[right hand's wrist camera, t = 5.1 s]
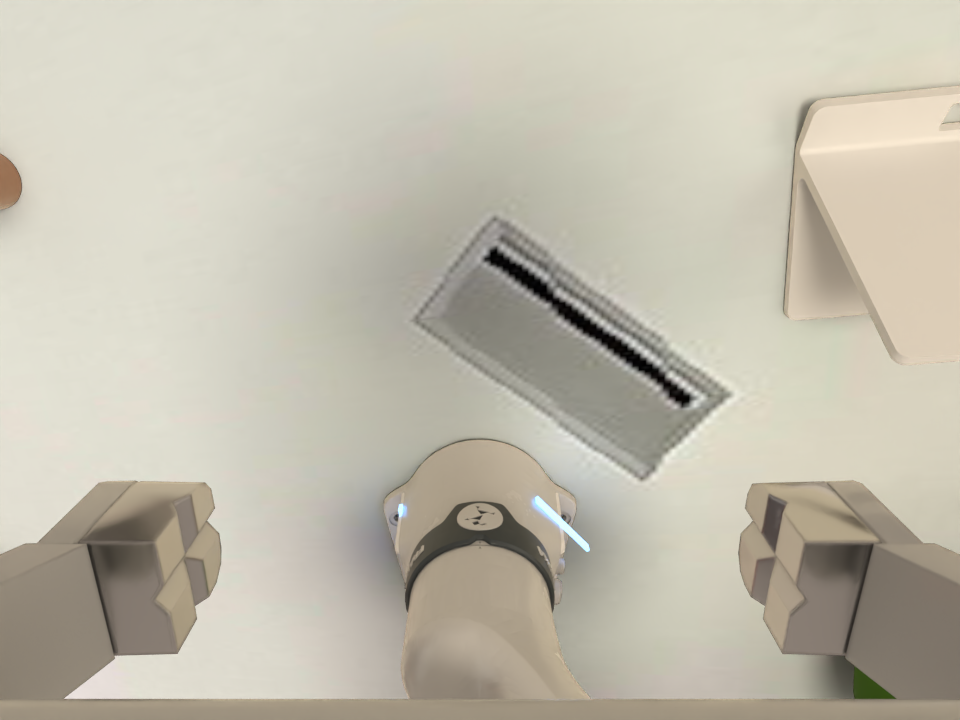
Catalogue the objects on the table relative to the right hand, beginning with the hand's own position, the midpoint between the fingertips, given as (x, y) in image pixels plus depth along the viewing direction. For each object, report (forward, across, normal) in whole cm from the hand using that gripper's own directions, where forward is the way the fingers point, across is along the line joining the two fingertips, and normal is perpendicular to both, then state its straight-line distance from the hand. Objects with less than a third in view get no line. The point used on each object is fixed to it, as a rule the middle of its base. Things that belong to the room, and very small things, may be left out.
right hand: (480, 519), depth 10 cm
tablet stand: (+48, +38, -2) cm, 61 cm away
